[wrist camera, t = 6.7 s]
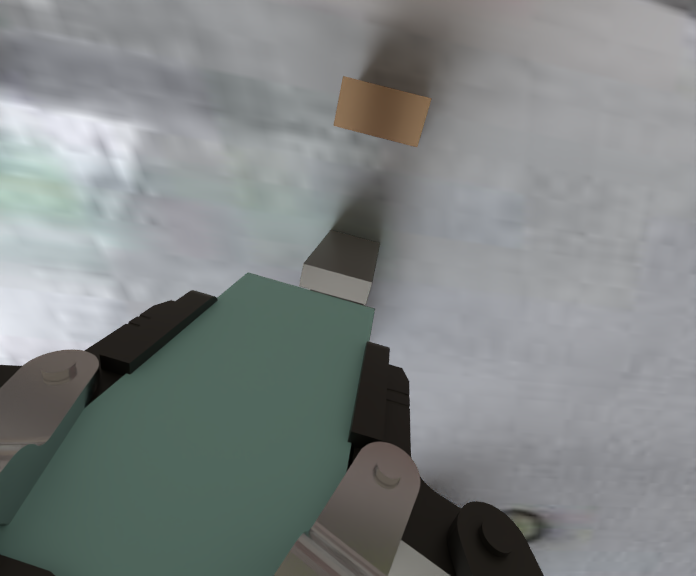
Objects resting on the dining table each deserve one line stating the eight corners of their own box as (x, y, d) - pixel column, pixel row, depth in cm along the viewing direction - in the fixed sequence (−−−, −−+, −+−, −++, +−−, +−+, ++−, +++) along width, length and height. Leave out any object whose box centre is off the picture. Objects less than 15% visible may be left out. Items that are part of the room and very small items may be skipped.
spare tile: (243, 312, 13) (-102, 676, 4) (247, 272, 12) (-161, 611, 3) (362, 347, 13) (270, 810, 4) (375, 308, 12) (294, 772, 3)
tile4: (327, 246, 33) (299, 286, 24) (330, 229, 32) (303, 263, 23) (375, 260, 33) (365, 304, 24) (380, 243, 32) (372, 282, 23)
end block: (346, 129, 28) (333, 125, 23) (354, 89, 27) (343, 76, 22) (414, 146, 28) (417, 147, 23) (425, 107, 27) (431, 98, 21)
